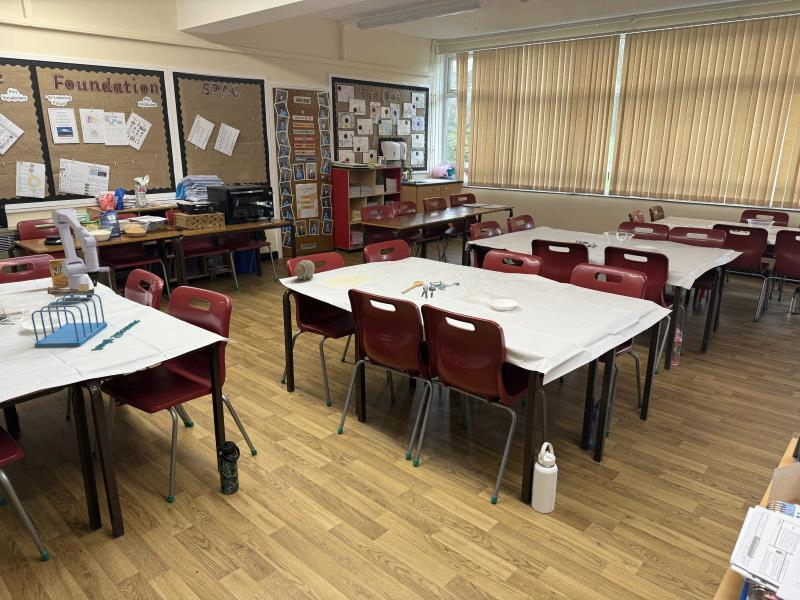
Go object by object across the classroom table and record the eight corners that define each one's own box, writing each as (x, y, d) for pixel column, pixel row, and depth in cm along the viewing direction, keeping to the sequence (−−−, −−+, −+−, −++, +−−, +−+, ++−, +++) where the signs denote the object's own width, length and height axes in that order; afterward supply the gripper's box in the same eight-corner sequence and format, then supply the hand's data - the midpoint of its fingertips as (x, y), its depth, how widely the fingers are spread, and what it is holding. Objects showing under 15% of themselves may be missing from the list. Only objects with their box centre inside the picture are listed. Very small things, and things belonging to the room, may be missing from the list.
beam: (47, 297, 275) (47, 289, 274) (48, 294, 280) (48, 286, 279) (94, 298, 285) (94, 290, 284) (93, 295, 290) (93, 287, 289)
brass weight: (78, 292, 282) (78, 285, 281) (78, 290, 285) (78, 283, 284) (88, 292, 284) (88, 285, 283) (88, 290, 287) (88, 284, 286)
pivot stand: (65, 304, 277) (64, 294, 276) (66, 299, 286) (64, 288, 285) (79, 303, 280) (78, 292, 278) (79, 297, 289) (78, 287, 288)
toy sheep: (290, 281, 325) (289, 262, 322) (305, 274, 340) (304, 256, 337) (306, 282, 322) (306, 263, 319) (320, 276, 337) (320, 258, 334)
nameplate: (88, 351, 218) (101, 351, 218) (88, 349, 218) (101, 349, 218) (132, 321, 254) (143, 321, 254) (132, 319, 253) (143, 320, 253)
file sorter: (67, 327, 245) (61, 293, 241) (108, 326, 246) (103, 293, 242) (34, 347, 221) (27, 310, 217) (80, 347, 222) (74, 310, 218)
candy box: (53, 288, 306) (48, 261, 302) (53, 286, 310) (49, 259, 306) (72, 286, 310) (67, 259, 306) (72, 285, 314) (67, 258, 309)
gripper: (75, 263, 276) (79, 289, 280) (107, 260, 283) (111, 286, 287) (75, 260, 282) (79, 286, 286) (107, 257, 289) (110, 283, 292)
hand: (95, 286), depth 287 cm, fingers closed
